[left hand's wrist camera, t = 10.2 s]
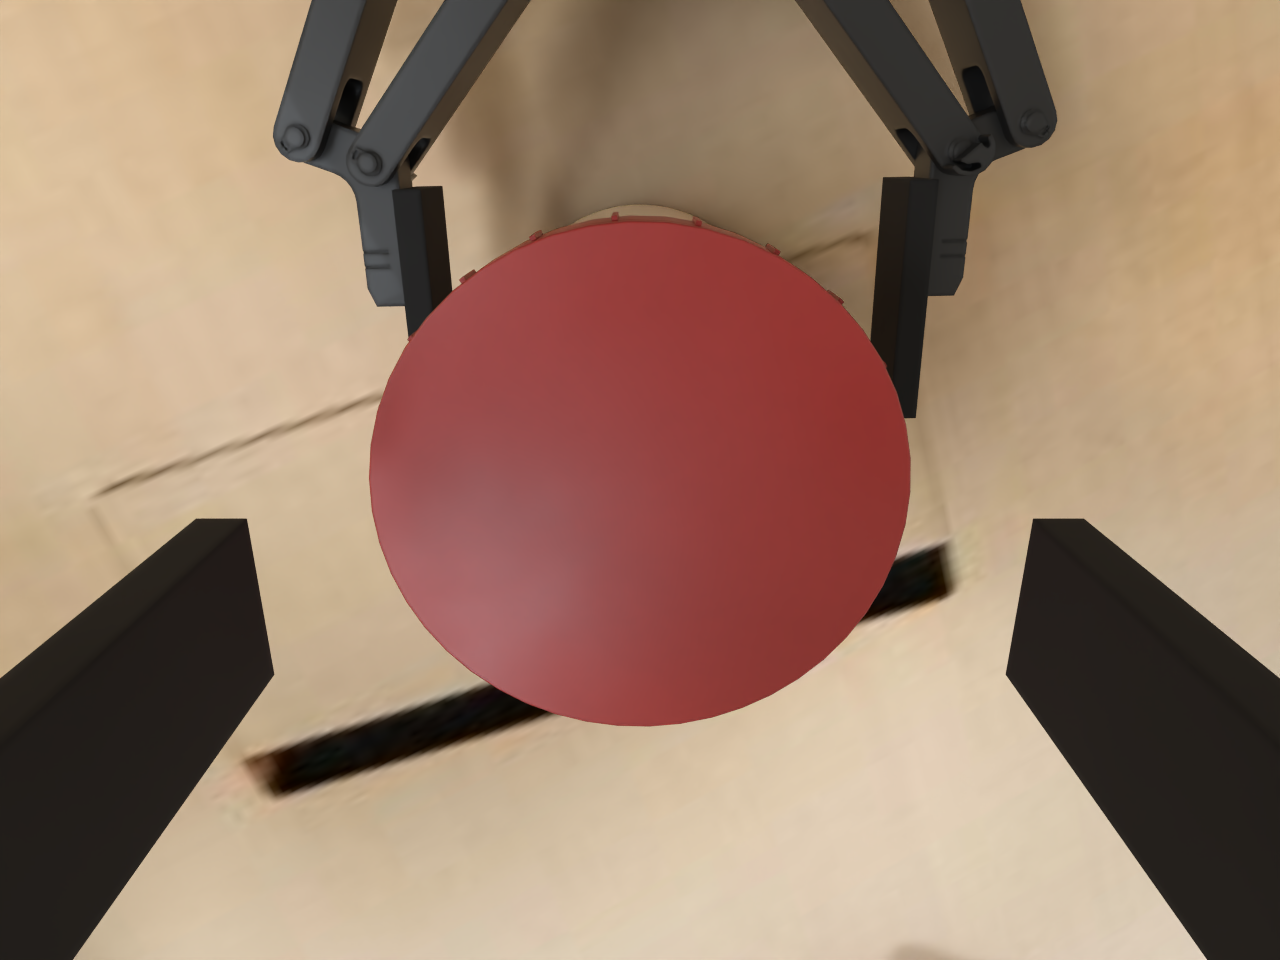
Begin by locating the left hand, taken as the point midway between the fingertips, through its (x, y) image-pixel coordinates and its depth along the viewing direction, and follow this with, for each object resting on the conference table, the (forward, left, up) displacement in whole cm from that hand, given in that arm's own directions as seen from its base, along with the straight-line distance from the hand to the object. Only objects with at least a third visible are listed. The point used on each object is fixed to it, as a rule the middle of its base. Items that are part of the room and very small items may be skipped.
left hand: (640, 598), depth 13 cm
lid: (0, 0, -4) cm, 4 cm away
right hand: (-1, -1, -13) cm, 13 cm away
